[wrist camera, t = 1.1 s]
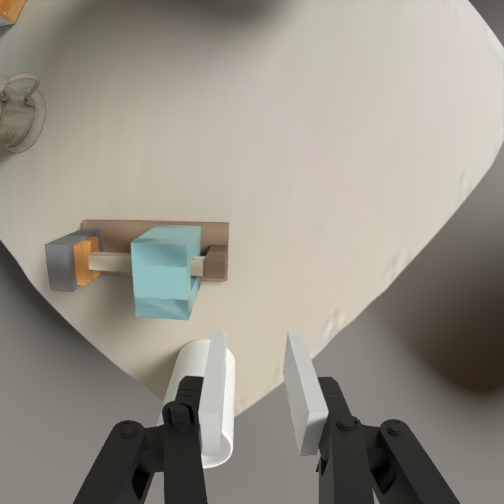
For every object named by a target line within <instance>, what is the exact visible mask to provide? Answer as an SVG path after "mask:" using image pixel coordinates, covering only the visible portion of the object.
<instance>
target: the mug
mask: <svg viewBox="0 0 504 504" xmlns="http://www.w3.org/2000/svg"><path fill="white" fill-rule="evenodd" d="M20 79H33V80H35V81H36V84H35V85H34V87H33V88H29V87H27V88H24V89H21V90H15V89H11V88H8V87H6V86H7V85H8V84H10V83H12V82H14V81H17V80H20ZM39 84H40V79H39V78H38V77H37V76H36V75H34V74H32V73H21V74H18V75H15V76H12V77H10V78H8V79H7V77H6V76H2V77H0V147H4V148H5V149H6V150H7V151H9V152H12V153H21V152H24V151H25V150H27V149H29V148H30V147H31V146H32V145H33V144H34V143H35V141H36V140H37V138H38V137H39V135H40V133H41V131H42V128H43V125H44V122H45V115H46V106H45V100H44V98H43V96H42V94H41V93H40V92H39V91H38V90H36V89H37V88H38V86H39Z"/></svg>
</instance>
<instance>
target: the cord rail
mask: <svg viewBox="0 0 504 504" xmlns="http://www.w3.org/2000/svg"><path fill="white" fill-rule="evenodd" d="M156 225H178V226H201V236H200V256H193V258H192V259H191V275H194V276H200V280H210V281H227V268H228V233H229V223H221V222H188V221H145V220H83V221H82V229H80V230H78V231H76V232H73V233H71V234H68V235H66V236H64V237H61V238H59V239H57V240H54V241H52V242H50V243H48V244H45V251H46V260H47V268H48V276H49V283H50V289H51V290H57V291H66V292H73V291H75V290H76V289H77V288H78V287H80V286H86V285H87V284H88V283H89V282H91V281H92V280H93V279H95V278H96V277H97V276H98V275H100V274H102V275H117V276H133V274H132V257H131V242H132V241H134V240H135V239H137V238H138V237H140V236H141V235H143V234H144V233H146V232H147V231H149V230H150V229H152V228H153V227H155V226H156Z"/></svg>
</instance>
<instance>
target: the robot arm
mask: <svg viewBox="0 0 504 504" xmlns="http://www.w3.org/2000/svg"><path fill="white" fill-rule="evenodd" d="M283 374H284V379H285V384H286V389H287V394H288V399H289V405H290V410H291V415H292V420H293V425H294V430H295V436H296V441H297V446H298V451H299V456H307V455H316V454H317V452H318V449H320V453H321V457H320V460H319V463H318V466H317V469H316V472H318V471H319V504H374V497H373V490H374V492H375V494H376V497H377V499H378V501H379V503H380V504H460V503H459V501H458V500H457V498H456V497H455V495H454V494H453V492H452V491H451V489H450V487H449V486H448V484H447V483H446V481H445V480H444V478H443V477H442V476H441V474H440V472H439V471H438V470H437V468H436V467H435V465H434V463H433V462H432V460H431V459H430V458H429V456H428V455H427V453H426V452H425V450H424V449H423V447H422V446H421V444H420V443H419V441H418V440H417V439H416V437H415V435H414V434H413V433H412V431H411V430H410V428H409V427H408V426H407V425H406V424H405V423H404V422H402V421H400V420H395V419H391V420H387V421H384V422H383V423H382V424H381V426H380V427H373V426H366V425H362V424H361V422H360V420H358V419H357V418H356V417H354V416H352V415H351V413H350V411H349V408H348V406H347V403H346V401H345V399H344V396H343V394H342V392H341V389H340V387H339V385H338V382H336V381H335V380H334V379H333V378H332V377H317V376H316V373H315V370H314V368H313V364H312V361H311V359H310V356H309V353H308V350H307V347H306V344H305V341H304V338H303V336H302V333H301V332H288V334H287V343H286V352H285V360H284V369H283ZM225 376H226V331H225V330H212V335H211V340H210V346H209V352H208V357H207V363H206V369H205V375H204V377H200V376H187V375H186V376H185V377H184V378H183V379H182V380H181V381H180V382H179V386H178V390H177V393H176V397H175V401H171V402H169V403H167V404H166V405H164V406H163V408H162V417H163V422H164V424H163V425H160V426H157V427H151V428H144V427H143V426H142V425H141V424H140V423H138V422H135V421H129V420H126V421H121V422H119V423H117V424H116V425H115V426H114V427H113V429H112V431H111V433H110V434H109V436H108V438H107V440H106V442H105V444H104V446H103V447H102V449H101V451H100V453H99V455H98V457H97V459H96V460H95V462H94V464H93V466H92V468H91V470H90V472H89V474H88V475H87V477H86V479H85V481H84V483H83V485H82V487H81V489H80V491H79V493H78V495H77V496H76V499H75V501H74V502H73V504H144V502H145V499H146V496H147V493H148V490H149V487H150V484H151V481H152V479H153V476H154V473H155V472H164V498H165V504H208V503H207V496H206V489H205V482H204V474H203V466H202V458H201V453H202V455H206V456H220V450H221V435H222V419H223V405H224V390H225ZM372 488H373V490H372Z"/></svg>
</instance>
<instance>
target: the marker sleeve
mask: <svg viewBox="0 0 504 504" xmlns="http://www.w3.org/2000/svg"><path fill="white" fill-rule="evenodd" d="M200 236H201V226H178V225H156V226H155V227H153V228H152V229H150V230H149V231H147V232H146V233H144V234H143V235H141V236H140V237H138V238H137V239H135V240H134V241H132V242H131V257H132V274H133V288H134V300H135V310H136V316H138V317H150V318H163V319H177V320H189V317H190V314H191V311H192V308H193V305H194V302H195V300H196V297H197V294H198V291H199V288H200V276H194V275H191V259H192V258H193V256H200Z"/></svg>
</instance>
